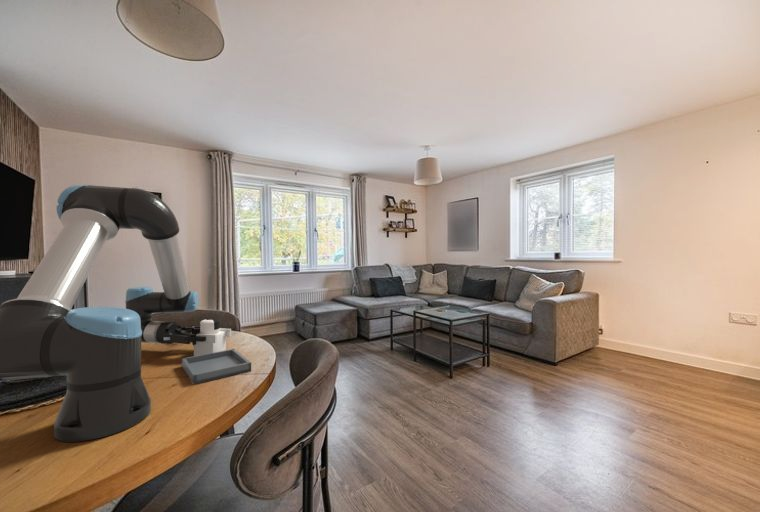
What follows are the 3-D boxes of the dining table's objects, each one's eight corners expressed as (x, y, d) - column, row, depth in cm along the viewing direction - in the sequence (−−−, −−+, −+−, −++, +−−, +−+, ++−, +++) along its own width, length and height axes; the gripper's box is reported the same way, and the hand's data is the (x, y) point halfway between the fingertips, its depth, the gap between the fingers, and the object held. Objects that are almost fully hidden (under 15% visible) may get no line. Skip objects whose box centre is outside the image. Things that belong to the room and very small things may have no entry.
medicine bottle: (207, 350, 112) (207, 316, 112) (226, 351, 111) (226, 317, 111) (193, 356, 105) (193, 321, 105) (212, 357, 104) (212, 321, 104)
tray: (251, 371, 93) (251, 362, 93) (193, 384, 83) (193, 375, 83) (233, 356, 106) (233, 348, 106) (181, 366, 96) (181, 358, 96)
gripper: (184, 335, 120) (240, 338, 117) (137, 352, 101) (203, 356, 97) (184, 316, 120) (240, 318, 117) (137, 328, 100) (203, 332, 97)
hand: (223, 335), depth 107 cm, fingers closed on medicine bottle, 7 cm apart
